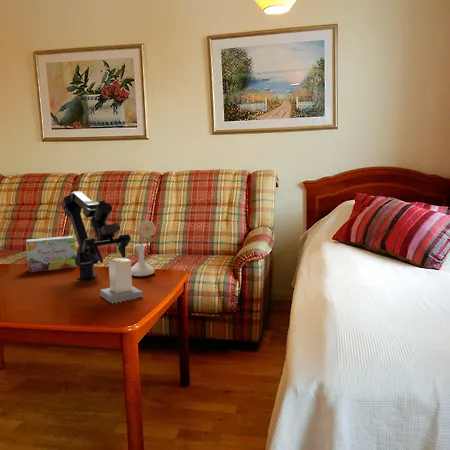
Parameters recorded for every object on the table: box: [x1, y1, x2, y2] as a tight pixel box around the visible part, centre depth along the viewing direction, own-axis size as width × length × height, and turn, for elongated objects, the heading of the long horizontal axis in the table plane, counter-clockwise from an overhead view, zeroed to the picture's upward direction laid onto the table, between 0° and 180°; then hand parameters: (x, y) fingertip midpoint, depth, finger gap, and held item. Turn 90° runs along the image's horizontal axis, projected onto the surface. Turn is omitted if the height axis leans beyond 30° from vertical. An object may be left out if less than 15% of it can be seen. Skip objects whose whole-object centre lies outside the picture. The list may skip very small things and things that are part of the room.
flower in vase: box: [131, 220, 157, 277], centre depth 199 cm, size 13×11×25 cm
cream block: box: [108, 256, 133, 294], centre depth 169 cm, size 6×6×12 cm
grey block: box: [99, 285, 143, 305], centre depth 170 cm, size 12×12×3 cm
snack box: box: [25, 235, 77, 273], centre depth 212 cm, size 21×6×15 cm, turn 117°
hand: (113, 260), depth 172 cm, fingers open, 9 cm apart
